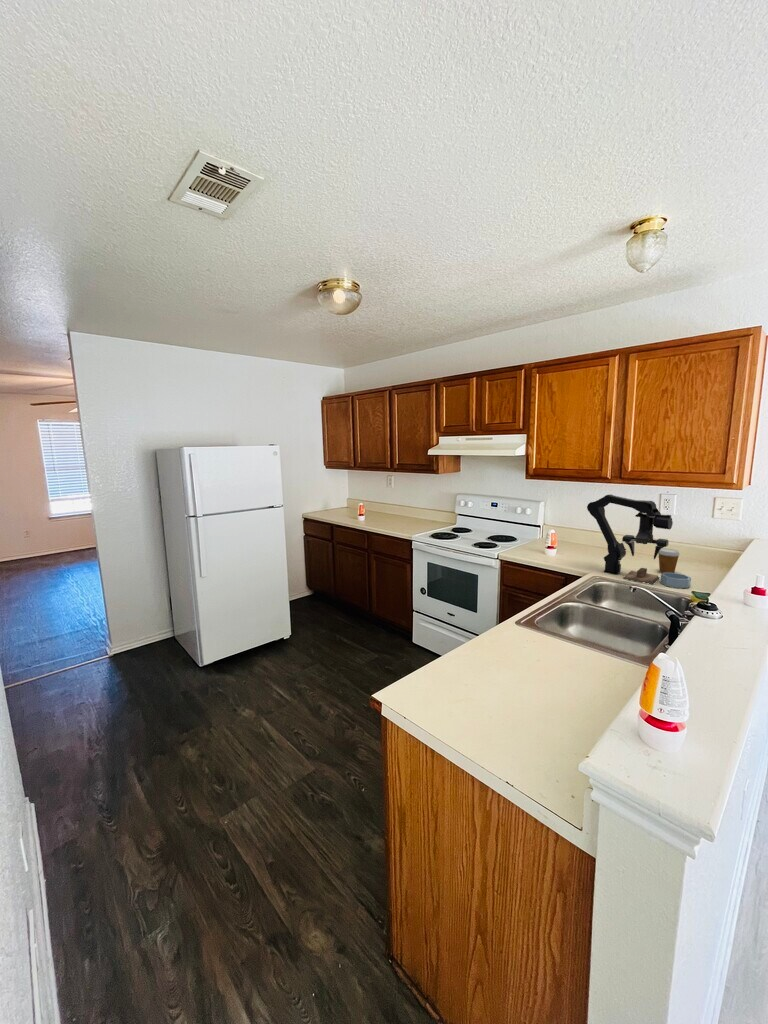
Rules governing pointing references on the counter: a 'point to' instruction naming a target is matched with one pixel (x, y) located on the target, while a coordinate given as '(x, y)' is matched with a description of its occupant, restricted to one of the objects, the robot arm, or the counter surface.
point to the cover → (641, 575)
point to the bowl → (675, 580)
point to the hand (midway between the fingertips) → (643, 557)
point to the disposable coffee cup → (668, 560)
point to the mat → (642, 581)
